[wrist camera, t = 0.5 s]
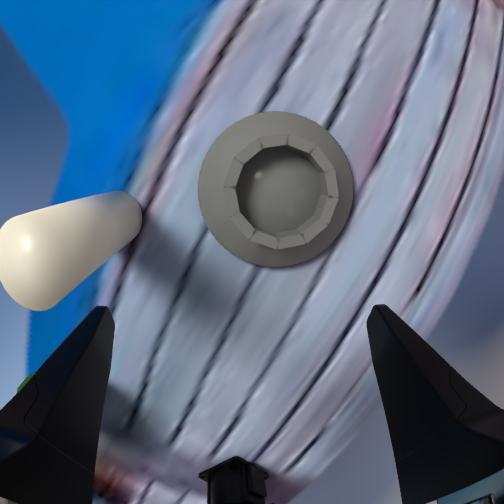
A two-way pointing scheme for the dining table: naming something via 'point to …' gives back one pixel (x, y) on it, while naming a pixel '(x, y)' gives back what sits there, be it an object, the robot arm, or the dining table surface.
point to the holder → (275, 189)
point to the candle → (63, 245)
